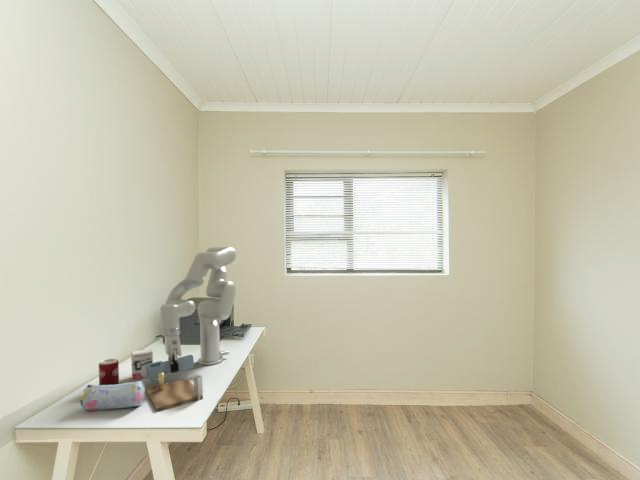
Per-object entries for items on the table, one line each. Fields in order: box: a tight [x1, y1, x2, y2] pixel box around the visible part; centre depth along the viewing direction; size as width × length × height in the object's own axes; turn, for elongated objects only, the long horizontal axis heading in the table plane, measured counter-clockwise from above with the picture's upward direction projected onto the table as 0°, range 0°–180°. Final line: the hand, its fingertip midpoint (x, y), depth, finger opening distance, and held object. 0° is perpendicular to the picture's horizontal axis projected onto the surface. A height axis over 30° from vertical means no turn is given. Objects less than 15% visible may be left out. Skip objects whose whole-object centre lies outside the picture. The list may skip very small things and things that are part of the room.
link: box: [146, 354, 195, 382], centre depth 160 cm, size 19×6×5 cm, turn 126°
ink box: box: [130, 348, 154, 381], centre depth 165 cm, size 8×5×12 cm, turn 123°
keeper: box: [186, 374, 204, 402], centre depth 141 cm, size 6×3×9 cm, turn 71°
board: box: [145, 378, 204, 413], centre depth 144 cm, size 17×22×1 cm
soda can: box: [98, 358, 120, 385], centre depth 151 cm, size 7×7×12 cm
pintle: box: [158, 372, 165, 391], centre depth 146 cm, size 2×2×8 cm
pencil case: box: [80, 380, 146, 411], centre depth 135 cm, size 21×9×10 cm, turn 94°
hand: (173, 370), depth 160 cm, fingers closed on link, 3 cm apart
